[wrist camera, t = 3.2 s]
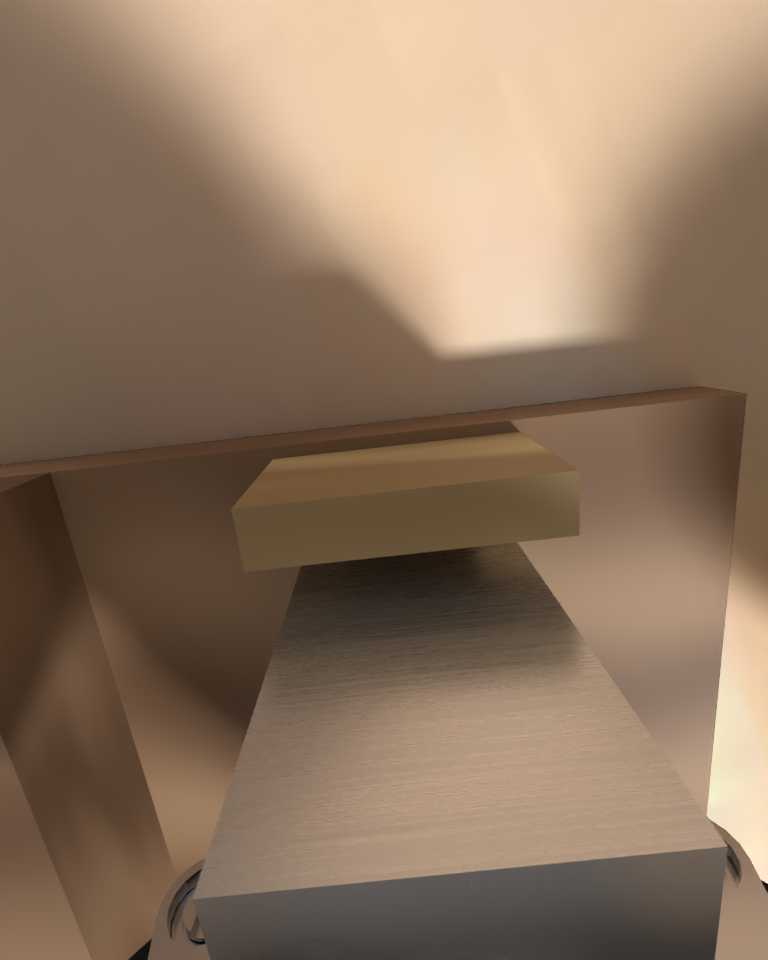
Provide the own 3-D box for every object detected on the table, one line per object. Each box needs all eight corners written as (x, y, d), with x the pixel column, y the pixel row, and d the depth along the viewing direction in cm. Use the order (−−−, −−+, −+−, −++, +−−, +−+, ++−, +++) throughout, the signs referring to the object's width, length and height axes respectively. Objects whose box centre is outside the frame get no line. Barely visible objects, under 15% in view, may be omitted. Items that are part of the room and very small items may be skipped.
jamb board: (671, 796, 14) (795, 990, 10) (-319, 895, 15) (-601, 1122, 11) (698, 386, 11) (902, 417, 7) (-577, 530, 12) (-1144, 644, 7)
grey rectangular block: (512, 807, 13) (670, 1346, 6) (357, 823, 13) (337, 1376, 6) (498, 516, 10) (727, 845, 4) (310, 536, 10) (192, 898, 4)
